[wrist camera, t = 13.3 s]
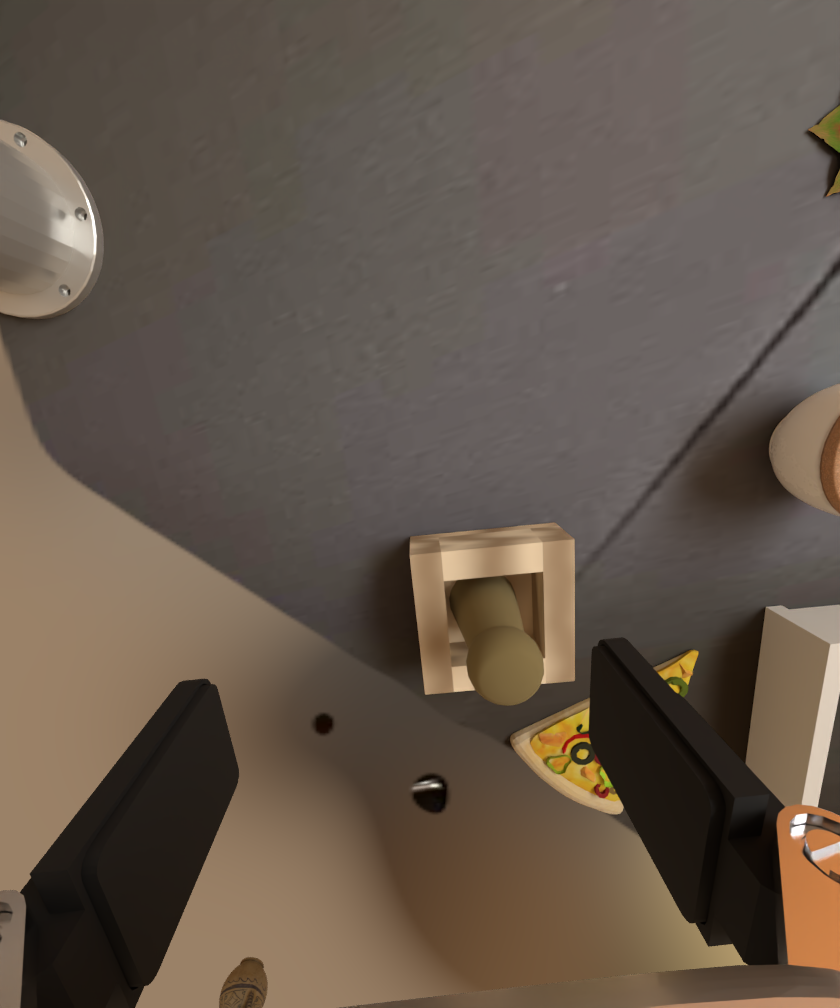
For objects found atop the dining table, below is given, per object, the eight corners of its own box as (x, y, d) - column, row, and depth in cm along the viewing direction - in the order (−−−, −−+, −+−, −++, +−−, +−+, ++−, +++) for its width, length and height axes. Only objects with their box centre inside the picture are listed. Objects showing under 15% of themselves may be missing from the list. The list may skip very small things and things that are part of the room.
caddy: (424, 661, 38) (425, 694, 34) (410, 536, 35) (409, 555, 31) (556, 649, 38) (574, 680, 34) (554, 522, 35) (574, 539, 31)
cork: (450, 568, 35) (466, 639, 24) (518, 569, 35) (563, 641, 24) (447, 628, 36) (460, 720, 26) (512, 629, 37) (552, 722, 26)
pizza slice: (497, 742, 42) (503, 767, 39) (636, 602, 38) (654, 618, 35) (601, 809, 44) (614, 838, 41) (741, 684, 40) (766, 706, 38)
